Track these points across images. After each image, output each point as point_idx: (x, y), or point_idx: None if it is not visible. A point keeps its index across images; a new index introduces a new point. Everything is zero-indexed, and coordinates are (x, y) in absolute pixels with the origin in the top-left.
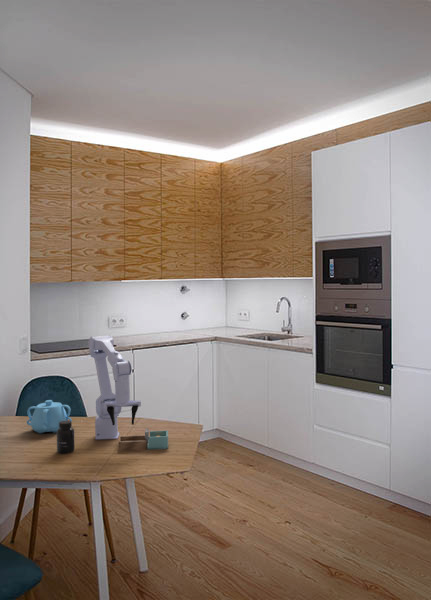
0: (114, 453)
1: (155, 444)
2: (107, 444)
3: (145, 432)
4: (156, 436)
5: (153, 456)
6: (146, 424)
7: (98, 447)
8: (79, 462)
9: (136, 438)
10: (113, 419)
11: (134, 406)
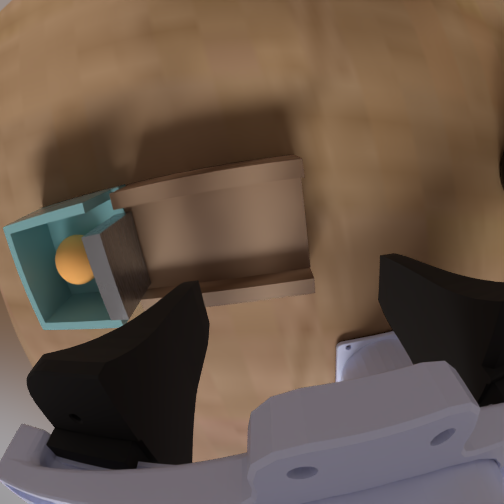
0: (308, 111)
1: (74, 200)
2: (378, 265)
3: (96, 233)
4: (73, 266)
5: (75, 89)
6: None
7: (416, 218)
8: (439, 12)
9: (207, 285)
10: (414, 270)
11: (94, 446)
